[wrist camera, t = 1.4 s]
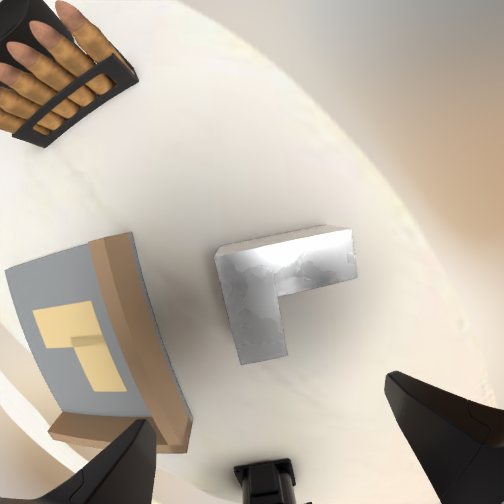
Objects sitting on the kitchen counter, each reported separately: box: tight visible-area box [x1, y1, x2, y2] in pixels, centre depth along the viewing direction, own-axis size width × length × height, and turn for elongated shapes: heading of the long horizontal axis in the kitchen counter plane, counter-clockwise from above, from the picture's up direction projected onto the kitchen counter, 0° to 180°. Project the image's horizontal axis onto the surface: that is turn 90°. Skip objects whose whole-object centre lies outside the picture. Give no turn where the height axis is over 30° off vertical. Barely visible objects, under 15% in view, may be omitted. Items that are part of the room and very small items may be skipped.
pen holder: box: [0, 0, 73, 90], centre depth 11 cm, size 9×9×10 cm
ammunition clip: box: [0, 0, 139, 148], centre depth 12 cm, size 11×2×12 cm, turn 116°
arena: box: [5, 232, 193, 453], centre depth 18 cm, size 18×16×5 cm
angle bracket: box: [214, 225, 357, 365], centre depth 18 cm, size 7×8×5 cm
